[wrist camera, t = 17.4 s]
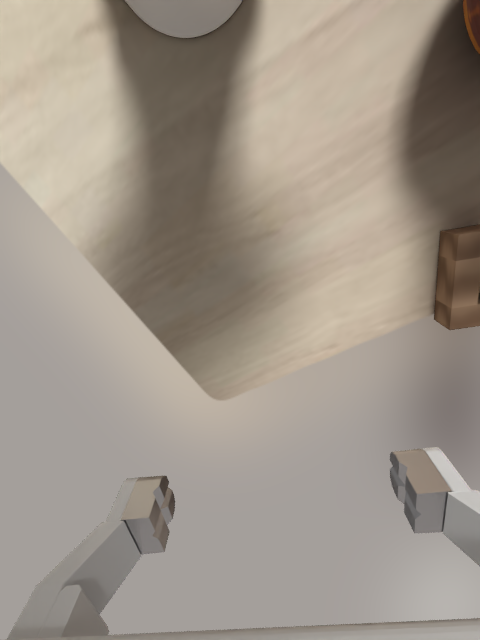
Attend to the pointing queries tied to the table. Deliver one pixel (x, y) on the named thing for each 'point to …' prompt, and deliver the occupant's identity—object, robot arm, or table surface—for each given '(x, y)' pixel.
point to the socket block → (458, 278)
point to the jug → (473, 21)
